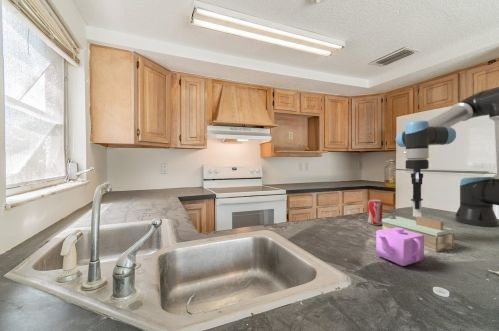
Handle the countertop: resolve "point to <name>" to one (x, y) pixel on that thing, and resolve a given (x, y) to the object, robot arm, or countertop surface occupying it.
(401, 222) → the cover
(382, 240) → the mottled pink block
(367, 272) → the countertop surface
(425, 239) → the trough
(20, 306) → the countertop surface
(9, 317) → the countertop surface
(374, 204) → the beverage can
